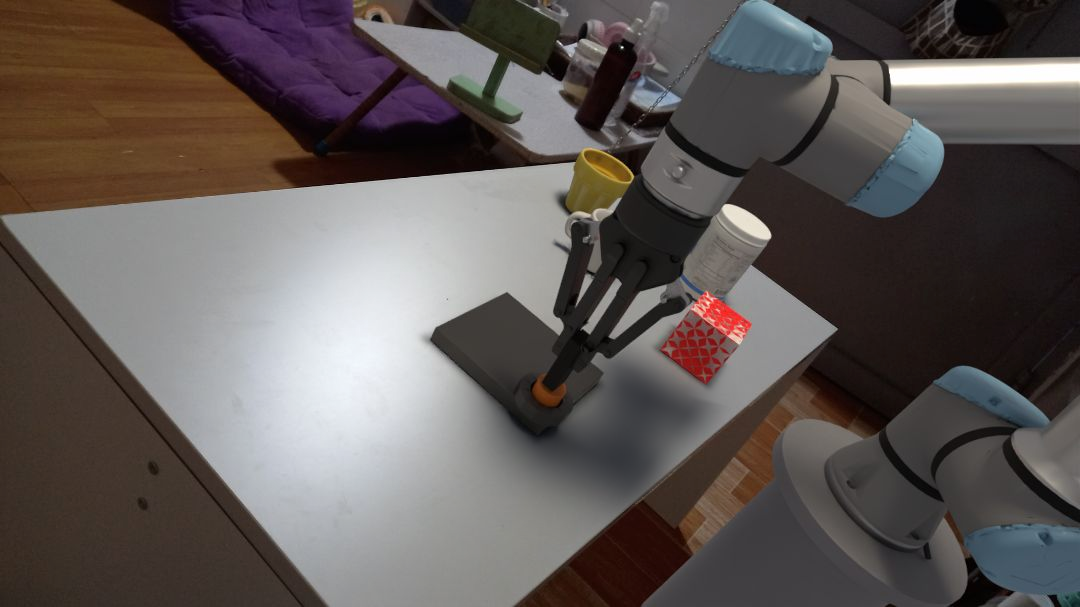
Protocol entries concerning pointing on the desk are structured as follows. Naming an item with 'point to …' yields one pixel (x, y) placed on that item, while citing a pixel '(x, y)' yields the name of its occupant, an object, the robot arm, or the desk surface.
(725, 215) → the supplement tub
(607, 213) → the cup
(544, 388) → the button
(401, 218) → the desk surface
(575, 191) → the flower pot
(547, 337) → the scale
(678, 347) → the red patterned cube
